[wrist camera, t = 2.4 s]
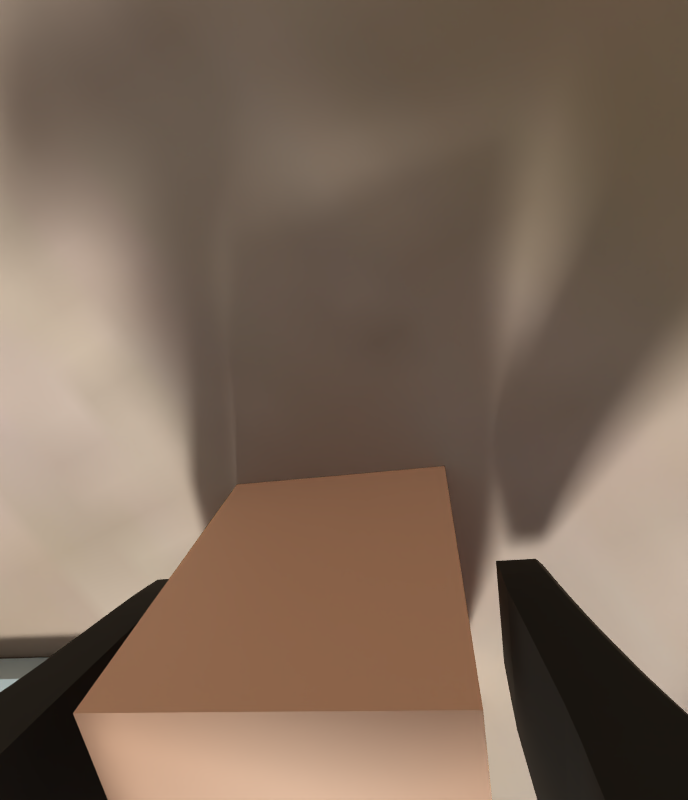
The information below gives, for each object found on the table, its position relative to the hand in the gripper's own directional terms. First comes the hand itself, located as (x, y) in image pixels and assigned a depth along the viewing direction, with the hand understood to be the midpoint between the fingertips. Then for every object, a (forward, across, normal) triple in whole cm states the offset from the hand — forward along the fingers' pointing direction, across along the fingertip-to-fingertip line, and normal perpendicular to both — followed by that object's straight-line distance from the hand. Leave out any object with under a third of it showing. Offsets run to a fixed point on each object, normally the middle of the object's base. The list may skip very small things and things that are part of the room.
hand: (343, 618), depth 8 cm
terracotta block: (+2, 0, 0) cm, 2 cm away
